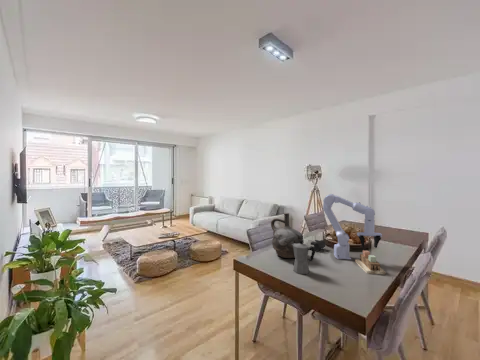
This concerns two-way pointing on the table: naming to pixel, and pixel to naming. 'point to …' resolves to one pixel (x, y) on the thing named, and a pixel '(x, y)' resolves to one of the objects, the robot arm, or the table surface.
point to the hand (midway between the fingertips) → (369, 247)
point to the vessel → (285, 238)
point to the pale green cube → (371, 258)
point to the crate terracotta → (366, 253)
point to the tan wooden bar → (370, 263)
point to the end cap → (318, 245)
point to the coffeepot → (302, 257)
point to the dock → (368, 268)
